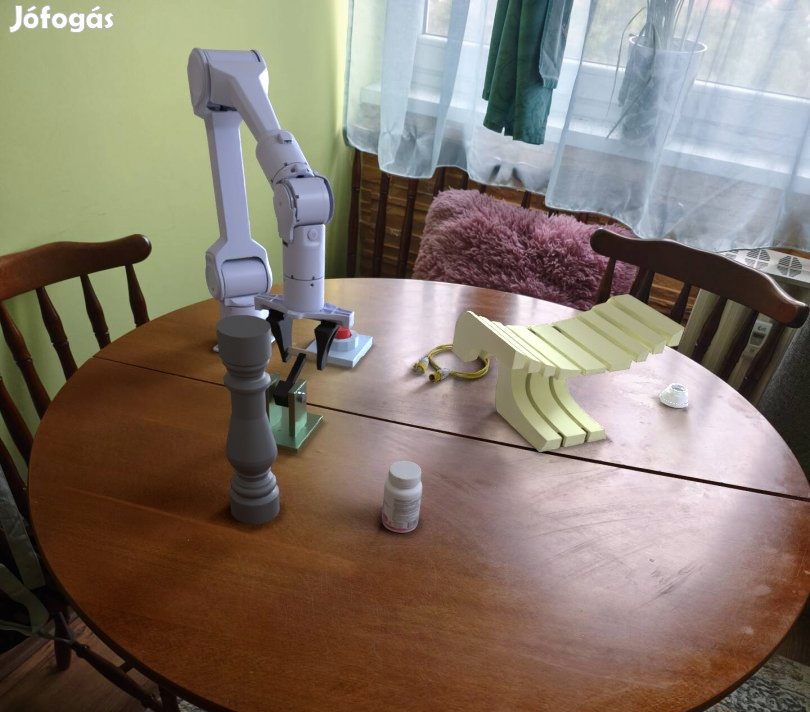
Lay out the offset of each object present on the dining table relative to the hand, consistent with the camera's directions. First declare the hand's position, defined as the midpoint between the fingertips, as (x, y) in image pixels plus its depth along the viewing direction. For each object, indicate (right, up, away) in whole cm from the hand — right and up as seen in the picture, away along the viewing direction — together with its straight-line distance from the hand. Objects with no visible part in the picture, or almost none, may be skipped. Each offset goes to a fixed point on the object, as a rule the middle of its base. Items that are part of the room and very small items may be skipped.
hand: (303, 363), depth 104 cm
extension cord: (+24, +5, +22) cm, 32 cm away
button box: (+3, +8, +22) cm, 23 cm away
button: (+4, +10, +20) cm, 22 cm away
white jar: (+63, -2, +19) cm, 66 cm away
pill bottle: (+15, -24, -14) cm, 32 cm away
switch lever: (-1, -3, -2) cm, 4 cm away
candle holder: (-4, -23, -15) cm, 28 cm away
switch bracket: (-3, -10, 0) cm, 11 cm away
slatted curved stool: (+38, -7, +10) cm, 40 cm away
